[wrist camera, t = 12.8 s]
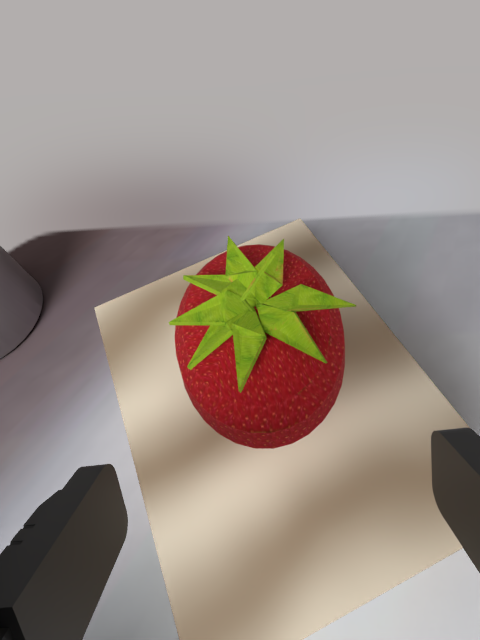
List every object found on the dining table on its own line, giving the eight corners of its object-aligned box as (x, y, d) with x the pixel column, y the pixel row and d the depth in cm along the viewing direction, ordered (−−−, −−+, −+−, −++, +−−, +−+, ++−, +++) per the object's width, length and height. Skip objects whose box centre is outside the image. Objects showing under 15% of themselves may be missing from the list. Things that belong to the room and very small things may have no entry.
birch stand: (128, 344, 25) (94, 307, 21) (299, 267, 27) (300, 218, 22) (221, 654, 16) (195, 700, 12) (475, 511, 17) (534, 507, 13)
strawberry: (313, 314, 19) (327, 137, 10) (349, 463, 15) (421, 378, 6) (205, 330, 19) (132, 173, 11) (213, 480, 15) (108, 422, 7)
